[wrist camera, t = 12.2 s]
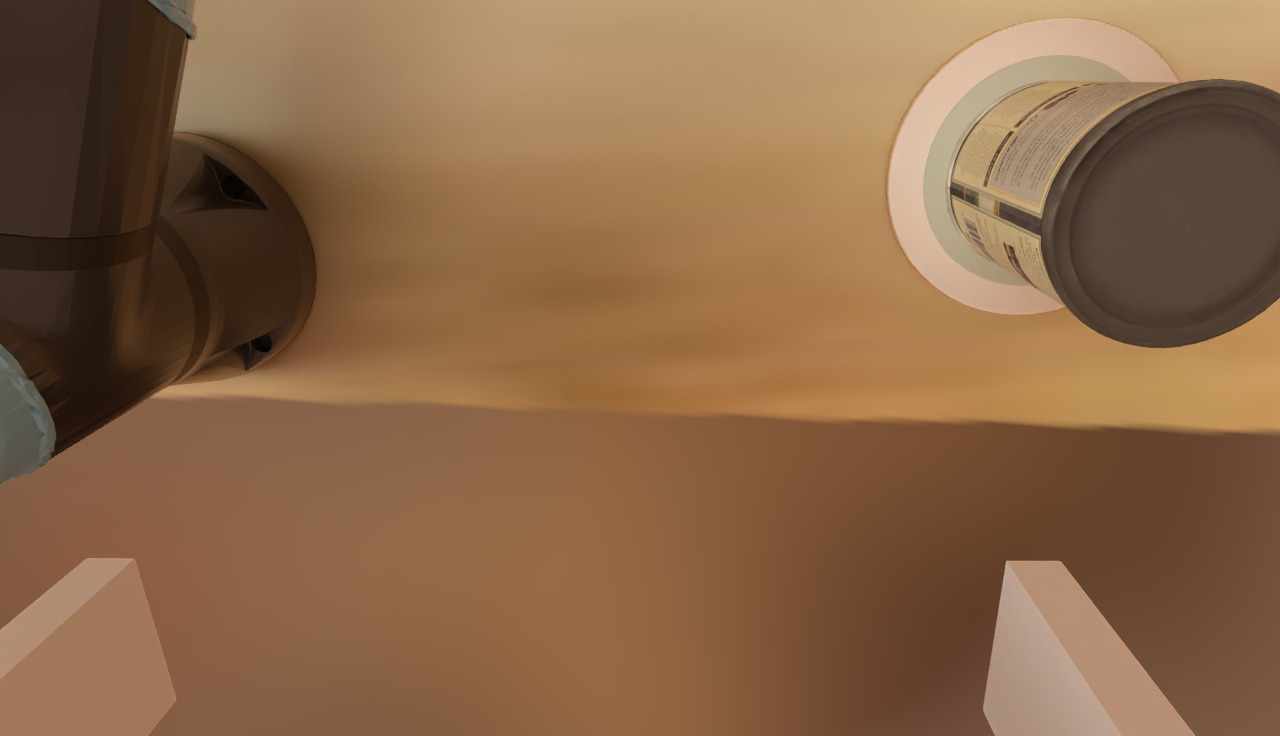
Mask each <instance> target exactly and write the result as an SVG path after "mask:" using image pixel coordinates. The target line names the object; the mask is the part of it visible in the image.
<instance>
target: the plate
mask: <svg viewBox="0 0 1280 736" xmlns="http://www.w3.org/2000/svg"><path fill="white" fill-rule="evenodd" d="M1045 80H1072V81H1084V82H1094V81H1095V82H1171V83H1179V81H1178V80H1177V78H1176V77H1175V75H1174V73H1173V72H1172V70H1171V69H1170V67H1169V66H1168V64H1167V63H1166V62H1165V61H1164V60H1163V59H1162V58H1161V57H1160V56H1159V55H1158V54H1157V52H1156V51H1155V50H1153V49H1152V48H1151V47H1150V46H1148V45H1147V44H1146V43H1144V42H1143V41H1142V40H1141V39H1139V38H1137V37H1136V36H1134V35H1132V34H1130V33H1128V32H1127V31H1125V30H1123V29H1120V28H1117V27H1115V26H1112V25H1109V24H1107V23H1103V22H1098V21H1093V20H1088V19H1081V18H1053V19H1042V20H1035V21H1030V22H1026V23H1021V24H1017V25H1012V26H1010V27H1007V28H1004V29H1001V30H998V31H996V32H993V33H991V34H989V35H987V36H985V37H983V38H981V39H979V40H977V41H975V42H973V43H972V44H970V45H969V46H967V47H966V48H964V49H963V50H961V51H960V52H958V53H957V54H955V55H954V56H953V57H952V58H951V59H949V60H948V61H947V62H946V63H945V64H943V65H942V66H941V67H940V68H939V69H938V70H937V71H936V72H935V73H934V74H933V75H932V76H931V77H930V78H929V80H928V81H927V82H926V83H925V84H924V85H923V87H922V88H921V89H920V91H919V92H918V93H917V95H916V96H915V97H914V99H913V100H912V102H911V104H910V105H909V107H908V109H907V111H906V112H905V114H904V116H903V118H902V120H901V122H900V125H899V127H898V129H897V132H896V134H895V136H894V140H893V143H892V147H891V150H890V154H889V159H888V165H887V171H886V200H887V210H888V214H889V218H890V222H891V226H892V229H893V231H894V234H895V236H896V239H897V241H898V244H899V245H900V247H901V249H902V250H903V252H904V254H905V256H906V257H907V259H908V260H909V261H910V262H911V264H912V265H913V266H914V267H915V269H916V270H917V271H918V272H919V273H920V274H921V275H922V276H923V277H924V278H925V279H927V280H928V281H929V282H930V283H931V284H932V285H933V286H934V287H936V288H937V289H938V290H940V291H941V292H943V293H944V294H946V295H947V296H948V297H950V298H952V299H954V300H956V301H958V302H960V303H962V304H964V305H967V306H970V307H973V308H976V309H979V310H982V311H987V312H992V313H997V314H1010V315H1025V314H1038V313H1043V312H1049V311H1054V310H1058V309H1061V308H1065V307H1064V306H1062V305H1061V304H1059V303H1058V302H1056V301H1054V300H1053V299H1051V298H1050V297H1048V296H1046V295H1045V294H1043V293H1042V292H1040V291H1038V290H1037V289H1035V288H1034V287H1032V286H1030V285H1029V284H1027V283H1026V282H1024V281H1023V280H1021V279H1019V278H1018V277H1016V276H1015V275H1013V274H1011V273H1010V272H1008V271H1007V270H1005V269H1003V268H1002V267H1000V266H999V265H997V264H996V263H993V262H991V261H988V260H987V259H985V258H983V257H982V256H980V255H979V254H977V253H976V252H975V251H974V250H973V249H971V248H970V247H969V246H968V245H967V244H966V243H965V242H964V240H963V239H962V238H961V236H960V235H959V234H958V232H957V230H956V228H955V227H954V225H953V222H952V220H951V217H950V215H949V212H948V206H947V202H946V177H947V171H948V167H949V163H950V160H951V157H952V154H953V152H954V150H955V147H956V144H957V142H958V140H959V139H960V137H961V136H962V135H963V133H964V132H965V130H966V129H967V127H968V126H969V124H970V123H971V122H972V121H973V120H974V119H975V117H976V116H977V115H978V114H979V113H980V112H981V111H982V110H983V109H984V108H986V107H987V106H988V105H989V104H991V103H992V102H993V101H995V100H996V99H998V98H999V97H1001V96H1002V95H1004V94H1006V93H1008V92H1010V91H1012V90H1014V89H1016V88H1018V87H1020V86H1023V85H1026V84H1030V83H1034V82H1039V81H1045Z"/></svg>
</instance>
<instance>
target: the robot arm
mask: <svg viewBox="0 0 1280 736" xmlns="http://www.w3.org/2000/svg"><path fill="white" fill-rule="evenodd" d="M194 2H195V0H0V484H2V483H4V482H6V481H8V480H10V479H12V478H15V477H19V476H22V475H25V474H30V473H33V472H34V471H36V470H38V469H39V468H41V467H43V466H44V465H45V464H46V463H47V462H48V460H49V459H51V458H53V457H54V456H55V455H57V454H59V453H61V452H62V451H64V450H65V449H67V448H69V447H70V446H72V445H74V444H75V443H77V442H79V441H80V440H81V439H83V438H85V437H86V436H88V435H90V434H91V433H93V432H95V431H96V430H98V429H100V428H101V427H103V426H104V425H106V424H108V423H109V422H111V421H112V420H114V419H115V418H117V417H119V416H121V415H122V414H124V413H125V412H127V411H129V410H130V409H132V408H134V407H135V406H137V405H138V404H140V403H142V402H143V401H145V400H146V399H148V398H150V397H151V396H153V395H155V394H156V393H158V392H159V391H161V390H163V389H164V388H166V387H168V386H171V385H180V384H190V383H199V382H209V381H218V380H224V379H228V378H232V377H235V376H238V375H241V374H244V373H246V372H249V371H251V370H253V369H255V368H256V367H258V366H260V365H261V364H263V363H264V362H266V361H267V360H269V359H270V358H272V357H273V356H275V355H276V354H278V353H279V352H281V351H282V350H283V349H284V348H286V347H287V346H288V345H289V344H290V343H291V342H292V340H293V339H294V338H295V337H296V336H297V334H298V333H299V331H300V330H301V328H302V326H303V325H304V323H305V321H306V319H307V317H308V314H309V311H310V309H311V305H312V301H313V296H314V290H315V263H314V256H313V251H312V246H311V243H310V239H309V236H308V233H307V231H306V228H305V226H304V223H303V221H302V219H301V217H300V215H299V213H298V211H297V210H296V208H295V206H294V205H293V203H292V202H291V200H290V199H289V197H288V196H287V194H286V193H285V192H284V190H283V189H282V188H281V187H280V186H279V184H278V183H277V182H276V181H275V180H274V179H273V178H272V177H271V176H270V175H269V174H268V173H267V172H266V171H265V170H264V169H262V168H261V167H260V166H259V165H258V164H256V163H255V162H254V161H253V160H251V159H250V158H248V157H247V156H245V155H244V154H242V153H240V152H239V151H237V150H235V149H233V148H231V147H229V146H227V145H225V144H223V143H221V142H218V141H216V140H213V139H210V138H206V137H203V136H199V135H194V134H188V133H176V132H174V126H175V120H176V114H177V108H178V102H179V96H180V90H181V85H182V79H183V73H184V67H185V61H186V55H187V49H188V43H189V39H191V40H195V38H196V26H195V24H194V23H193V21H192V19H193V11H194ZM175 701H176V696H175V692H174V689H173V686H172V682H171V679H170V676H169V673H168V669H167V665H166V662H165V659H164V655H163V652H162V649H161V645H160V642H159V639H158V635H157V632H156V629H155V625H154V622H153V619H152V615H151V612H150V608H149V605H148V602H147V598H146V595H145V592H144V588H143V585H142V582H141V578H140V575H139V572H138V568H137V565H136V561H135V559H133V558H132V559H131V558H87V559H85V560H84V561H83V562H82V563H81V564H80V565H78V566H77V567H76V568H75V569H73V570H72V571H71V572H70V573H69V574H67V575H66V576H65V577H64V578H63V579H61V580H60V581H59V582H58V583H57V584H55V585H54V586H53V587H52V588H51V589H49V590H48V591H47V592H46V593H44V594H43V595H42V596H41V597H40V598H38V599H37V600H36V601H35V602H34V603H32V604H31V605H30V606H29V607H28V608H26V609H25V610H24V611H23V612H22V613H20V614H19V615H18V616H17V617H15V618H14V619H13V620H12V621H11V622H10V623H8V624H7V625H6V626H5V627H3V628H2V629H1V630H0V736H148V735H149V734H150V732H151V731H152V730H153V728H154V727H155V726H156V725H157V723H158V722H159V721H160V720H161V718H162V717H163V716H164V715H165V713H166V712H167V711H168V710H169V708H170V707H171V706H172V704H173V703H174V702H175ZM983 711H984V713H985V715H986V717H987V719H988V721H989V723H990V726H991V728H992V730H993V732H994V734H995V736H1195V735H1194V734H1193V733H1192V731H1191V730H1190V729H1189V727H1188V726H1187V725H1186V723H1185V722H1184V721H1183V720H1182V718H1181V717H1180V716H1179V714H1178V713H1177V712H1176V710H1175V709H1174V708H1173V707H1172V705H1171V704H1170V703H1169V701H1168V700H1167V699H1166V697H1165V696H1164V695H1163V693H1162V692H1161V691H1160V690H1159V688H1158V687H1157V686H1156V684H1155V683H1154V682H1153V681H1152V679H1151V678H1150V677H1149V675H1148V674H1147V673H1146V671H1145V670H1144V669H1143V667H1142V666H1141V665H1140V664H1139V662H1138V661H1137V660H1136V659H1135V657H1134V656H1133V654H1132V653H1131V652H1130V651H1129V649H1128V648H1127V647H1126V645H1125V644H1124V643H1123V641H1122V640H1121V639H1120V638H1119V636H1118V635H1117V634H1116V632H1115V631H1114V630H1113V629H1112V627H1111V626H1110V625H1109V623H1108V622H1107V621H1106V619H1105V618H1104V617H1103V616H1102V615H1101V613H1100V612H1099V610H1098V609H1097V608H1096V607H1095V605H1094V604H1093V603H1092V601H1091V600H1090V599H1089V597H1088V596H1087V595H1086V593H1085V592H1084V591H1083V590H1082V588H1081V587H1080V586H1079V584H1078V583H1077V582H1076V580H1075V579H1074V578H1073V577H1072V575H1071V574H1070V573H1069V571H1068V570H1067V569H1066V567H1065V566H1064V565H1063V564H1062V562H1061V561H1006V566H1005V573H1004V579H1003V586H1002V593H1001V598H1000V605H999V611H998V617H997V624H996V630H995V636H994V643H993V649H992V655H991V662H990V668H989V675H988V681H987V687H986V693H985V701H984V706H983Z"/></svg>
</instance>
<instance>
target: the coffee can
mask: <svg viewBox="0 0 1280 736" xmlns="http://www.w3.org/2000/svg"><path fill="white" fill-rule="evenodd" d="M946 202H947V206H948V212H949V215H950V217H951V220H952V222H953V225H954V227H955V228H956V230H957V232H958V234H959V235H960V236H961V238H962V239H963V240H964V242H965V243H966V244H967V245H968V246H969V247H970V248H971V249H973V250H974V251H975V252H976V253H977V254H979V255H980V256H982V257H983V258H985V259H987V260H988V261H991V262H993V263H996V264H997V265H999V266H1000V267H1002V268H1003V269H1005V270H1007V271H1008V272H1010V273H1011V274H1013V275H1015V276H1016V277H1018V278H1019V279H1021V280H1023V281H1024V282H1026V283H1027V284H1029V285H1030V286H1032V287H1034V288H1035V289H1037V290H1038V291H1040V292H1042V293H1043V294H1045V295H1046V296H1048V297H1050V298H1051V299H1053V300H1054V301H1056V302H1058V303H1059V304H1061V305H1062V306H1064V307H1065V308H1067V309H1069V310H1070V311H1071V312H1072V313H1073V314H1074V315H1075V316H1076V317H1077V318H1078V319H1079V320H1080V321H1081V322H1083V323H1084V324H1085V325H1087V326H1088V327H1090V328H1091V329H1093V330H1095V331H1096V332H1098V333H1100V334H1102V335H1104V336H1106V337H1108V338H1111V339H1113V340H1116V341H1119V342H1122V343H1126V344H1130V345H1135V346H1141V347H1149V348H1170V347H1180V346H1184V345H1190V344H1195V343H1199V342H1202V341H1206V340H1209V339H1211V338H1214V337H1217V336H1220V335H1222V334H1224V333H1227V332H1229V331H1231V330H1234V329H1235V328H1237V327H1239V326H1241V325H1243V324H1245V323H1247V322H1248V321H1250V320H1252V319H1253V318H1255V317H1256V316H1257V315H1259V314H1260V313H1262V312H1263V311H1265V310H1266V309H1267V308H1268V307H1269V306H1270V305H1272V304H1273V303H1274V302H1275V301H1276V300H1277V299H1279V297H1280V94H1279V93H1277V92H1275V91H1272V90H1270V89H1268V88H1265V87H1262V86H1259V85H1256V84H1253V83H1249V82H1244V81H1236V80H1224V79H1211V80H1198V81H1190V82H1184V83H1171V82H1095V81H1094V82H1084V81H1072V80H1045V81H1039V82H1034V83H1030V84H1026V85H1023V86H1020V87H1018V88H1016V89H1014V90H1012V91H1010V92H1008V93H1006V94H1004V95H1002V96H1001V97H999V98H998V99H996V100H995V101H993V102H992V103H991V104H989V105H988V106H987V107H986V108H984V109H983V110H982V111H981V112H980V113H979V114H978V115H977V116H976V117H975V119H974V120H973V121H972V122H971V123H970V124H969V126H968V127H967V129H966V130H965V132H964V133H963V135H962V136H961V137H960V139H959V140H958V142H957V144H956V147H955V150H954V152H953V154H952V157H951V160H950V163H949V167H948V171H947V177H946Z"/></svg>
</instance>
